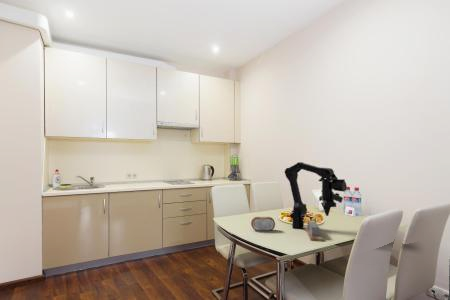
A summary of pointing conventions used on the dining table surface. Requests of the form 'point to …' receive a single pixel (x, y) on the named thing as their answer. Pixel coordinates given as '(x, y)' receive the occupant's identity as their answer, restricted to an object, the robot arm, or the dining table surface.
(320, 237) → the header board
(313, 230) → the plug
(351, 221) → the dining table surface
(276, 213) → the dining table surface
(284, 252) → the dining table surface
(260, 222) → the tin
